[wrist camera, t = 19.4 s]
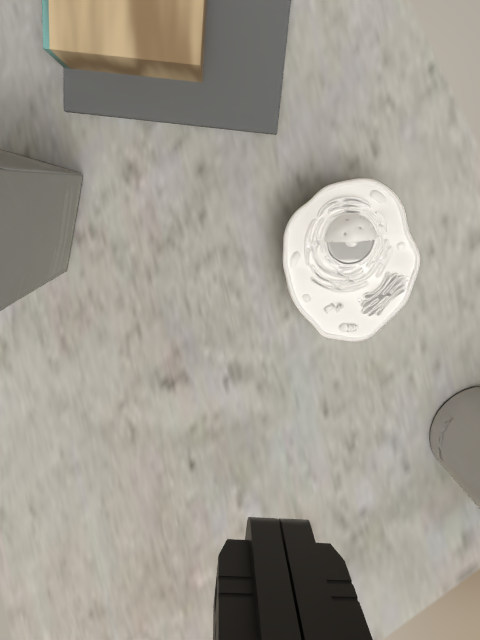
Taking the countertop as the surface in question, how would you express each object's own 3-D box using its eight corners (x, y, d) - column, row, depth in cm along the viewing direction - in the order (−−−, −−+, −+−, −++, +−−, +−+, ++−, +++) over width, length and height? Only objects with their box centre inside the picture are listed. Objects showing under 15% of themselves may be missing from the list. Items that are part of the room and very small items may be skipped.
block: (206, -43, 27) (40, -63, 26) (200, 65, 28) (43, 48, 28) (207, -11, 31) (63, -28, 30) (202, 82, 32) (64, 68, 31)
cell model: (276, 329, 38) (289, 355, 31) (271, 185, 35) (284, 180, 28) (391, 321, 38) (427, 345, 31) (396, 178, 35) (437, 172, 28)
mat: (295, -47, 31) (296, -50, 30) (275, 134, 34) (276, 133, 33) (64, -79, 30) (62, -82, 29) (65, 111, 32) (63, 110, 32)
